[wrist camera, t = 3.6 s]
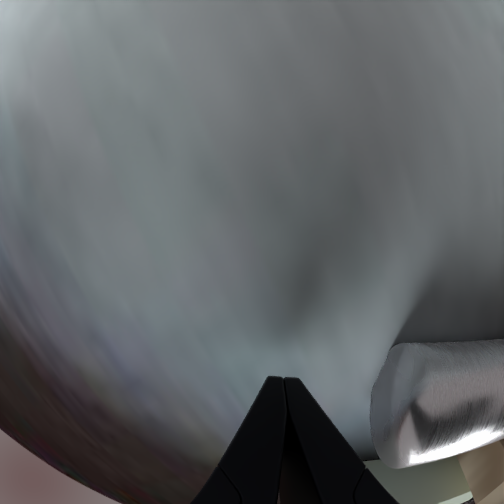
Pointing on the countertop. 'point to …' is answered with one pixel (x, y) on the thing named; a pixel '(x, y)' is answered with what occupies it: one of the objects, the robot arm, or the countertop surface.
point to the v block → (424, 482)
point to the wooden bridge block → (485, 472)
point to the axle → (437, 401)
